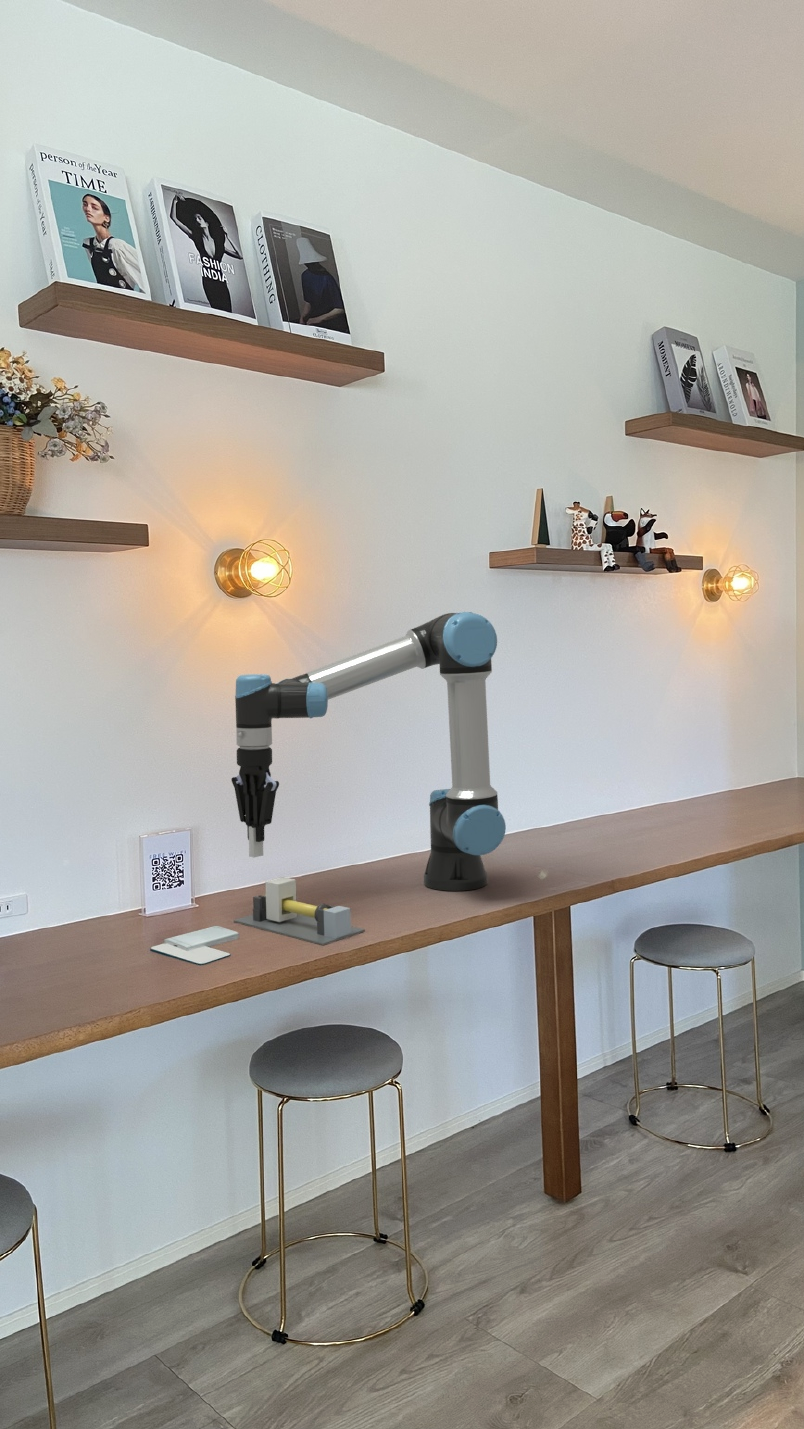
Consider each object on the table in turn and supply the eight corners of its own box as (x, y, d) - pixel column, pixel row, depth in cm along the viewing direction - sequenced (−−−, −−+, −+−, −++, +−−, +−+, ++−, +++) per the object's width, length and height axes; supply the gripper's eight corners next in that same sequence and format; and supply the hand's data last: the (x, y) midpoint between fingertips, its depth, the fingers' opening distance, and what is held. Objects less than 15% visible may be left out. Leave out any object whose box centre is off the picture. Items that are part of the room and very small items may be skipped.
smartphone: (233, 958, 203) (180, 942, 213) (233, 953, 203) (179, 938, 213) (200, 969, 197) (147, 952, 207) (200, 964, 197) (147, 947, 207)
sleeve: (266, 918, 224) (265, 881, 223) (284, 913, 228) (282, 876, 227) (279, 922, 221) (278, 884, 221) (296, 916, 225) (295, 879, 224)
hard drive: (215, 924, 220) (163, 938, 211) (239, 932, 214) (186, 946, 205) (215, 932, 220) (163, 946, 211) (239, 940, 214) (187, 954, 205)
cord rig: (233, 921, 226) (232, 894, 225) (275, 909, 235) (275, 883, 234) (323, 945, 208) (322, 916, 208) (364, 931, 217) (364, 903, 217)
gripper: (220, 746, 227) (223, 854, 229) (261, 750, 219) (263, 863, 221) (247, 743, 233) (249, 849, 235) (288, 747, 225) (289, 857, 227)
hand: (256, 855), depth 228 cm, fingers closed
